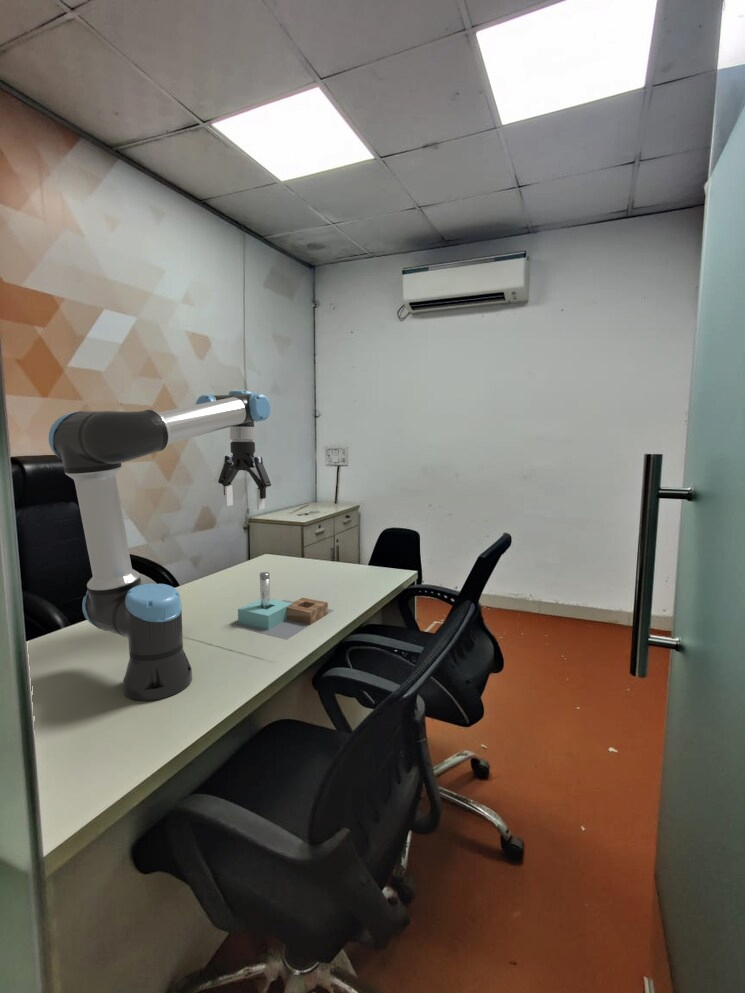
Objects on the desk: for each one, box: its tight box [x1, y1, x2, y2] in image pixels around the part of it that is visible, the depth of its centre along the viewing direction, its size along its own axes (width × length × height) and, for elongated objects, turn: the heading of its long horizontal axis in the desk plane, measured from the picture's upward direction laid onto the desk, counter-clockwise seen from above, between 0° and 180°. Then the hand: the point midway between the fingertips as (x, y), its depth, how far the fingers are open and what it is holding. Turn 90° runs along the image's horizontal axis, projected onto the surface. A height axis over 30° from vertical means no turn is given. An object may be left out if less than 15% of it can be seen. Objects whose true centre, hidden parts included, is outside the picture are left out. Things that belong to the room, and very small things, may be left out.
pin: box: [259, 571, 271, 610], centre depth 153 cm, size 3×3×15 cm
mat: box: [231, 599, 335, 640], centre depth 155 cm, size 26×21×1 cm
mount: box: [287, 597, 329, 626], centre depth 156 cm, size 10×10×4 cm
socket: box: [237, 598, 292, 630], centre depth 153 cm, size 12×12×4 cm
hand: (244, 507), depth 155 cm, fingers open, 13 cm apart
